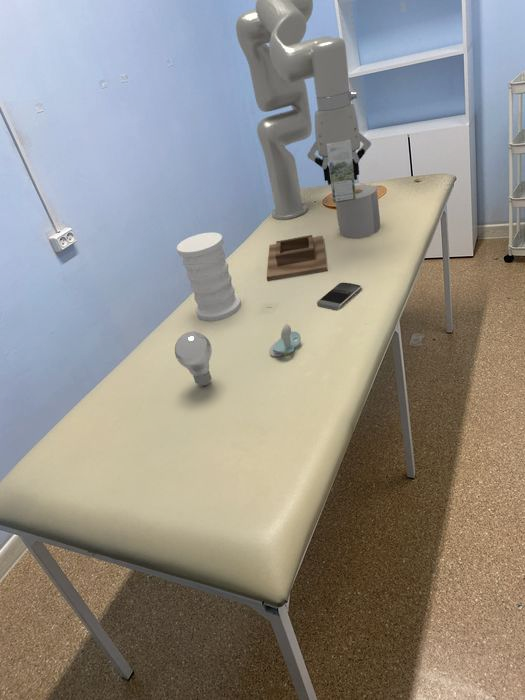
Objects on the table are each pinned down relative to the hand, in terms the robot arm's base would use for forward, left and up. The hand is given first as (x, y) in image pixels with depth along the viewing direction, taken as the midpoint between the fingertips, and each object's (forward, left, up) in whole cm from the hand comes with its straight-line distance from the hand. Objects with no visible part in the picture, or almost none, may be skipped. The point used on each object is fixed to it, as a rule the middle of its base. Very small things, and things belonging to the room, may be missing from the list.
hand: (342, 180), depth 124 cm
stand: (-4, -15, -20) cm, 25 cm away
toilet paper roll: (-17, +4, -21) cm, 27 cm away
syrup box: (0, 0, -5) cm, 5 cm away
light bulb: (+49, -34, -21) cm, 63 cm away
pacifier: (+41, -18, -21) cm, 49 cm away
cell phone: (+22, -5, -21) cm, 31 cm away
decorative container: (+18, -35, -21) cm, 44 cm away
